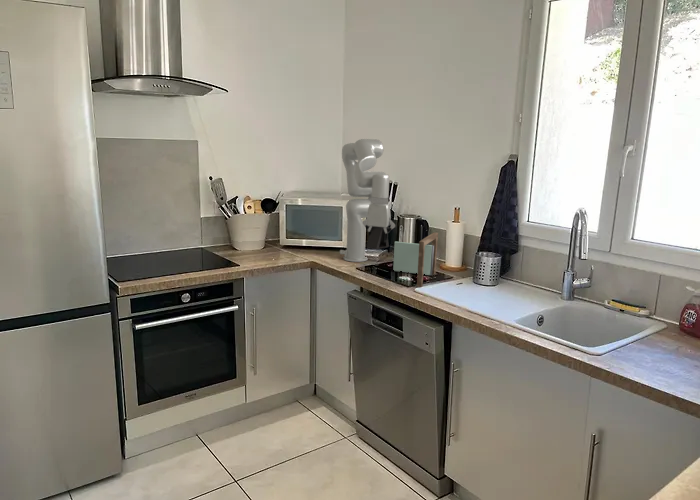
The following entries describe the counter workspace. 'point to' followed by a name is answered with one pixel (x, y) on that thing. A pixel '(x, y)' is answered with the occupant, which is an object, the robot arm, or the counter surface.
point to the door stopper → (377, 238)
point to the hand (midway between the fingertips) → (378, 240)
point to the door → (412, 258)
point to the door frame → (422, 243)
